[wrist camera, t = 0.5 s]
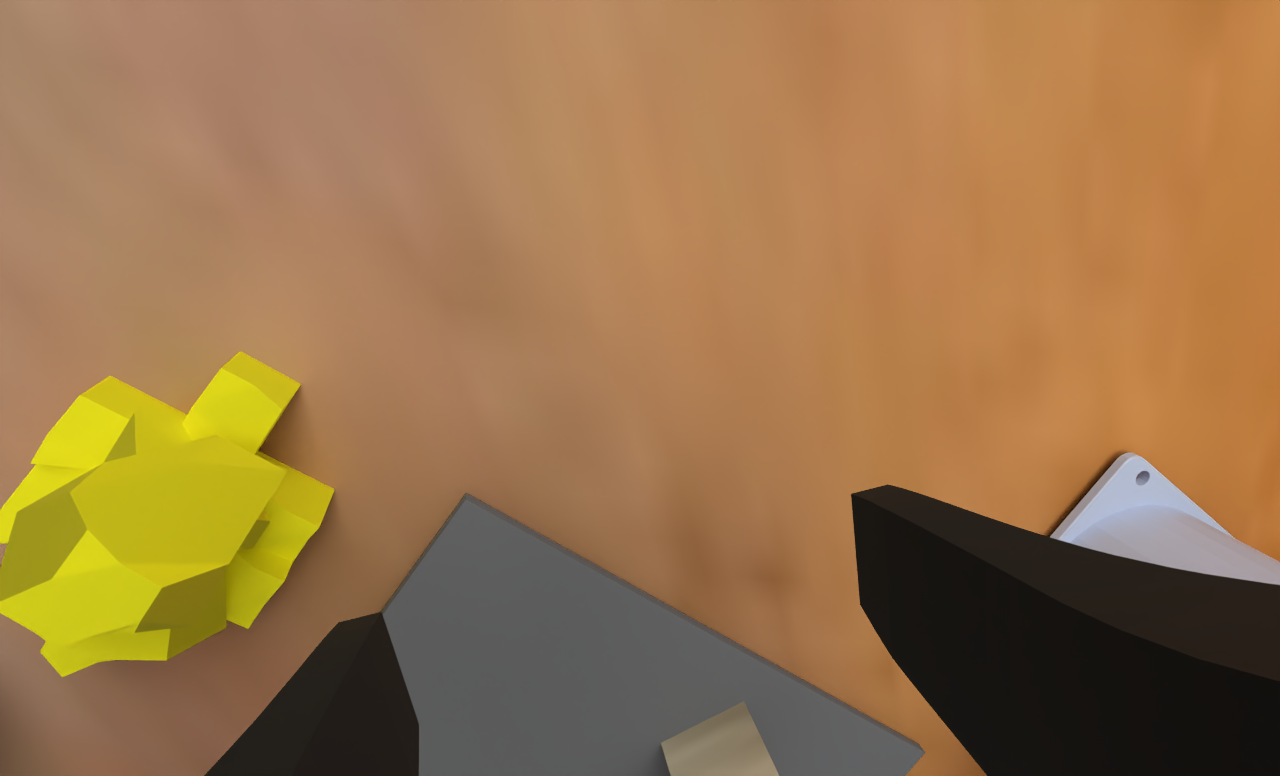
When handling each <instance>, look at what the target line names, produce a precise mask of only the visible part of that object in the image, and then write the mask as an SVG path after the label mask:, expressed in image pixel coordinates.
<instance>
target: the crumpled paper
mask: <svg viewBox="0 0 1280 776" xmlns="http://www.w3.org/2000/svg"><path fill="white" fill-rule="evenodd" d="M300 385H301V384H300V383H298V382H296V381H294V380H292V379H291V378H289V377H287V376H285V375H283V374H281V373H280V372H278V371H276V370H274V369H272V368H270V367H269V366H267V365H265V364H263V363H261V362H259V361H258V360H256V359H254V358H252V357H250V356H249V355H247V354H245V353H243V352H241V351H240V352H239V353H237V354H236V355H235V356H234V357H233V358H232V359H231V360H230V361H229V362H227V363H226V364H225V365H224V366H223V367H222V368H221V369H220V370H219V372H218V373H217V374H216V376H215V377H214V378H213V380H212V381H211V382H210V384H209V385H208V386H207V388H206V389H205V391H204V392H203V393H202V395H201V396H200V397H199V399H198V400H197V401H196V403H195V404H194V405H193V407H192V408H191V410H190V411H189V413H188V415H187V414H185V413H183V412H181V411H179V410H177V409H175V408H173V407H171V406H169V405H167V404H165V403H163V402H161V401H159V400H157V399H155V398H153V397H151V396H149V395H147V394H145V393H143V392H141V391H139V390H137V389H135V388H133V387H131V386H129V385H127V384H125V383H124V382H122V381H120V380H118V379H116V378H114V377H112V376H109V377H107V378H106V379H104V380H103V381H101V382H100V383H98V384H96V385H95V386H93V387H92V388H90V389H89V390H87V391H86V392H84V393H83V394H81V395H80V396H79V397H78V398H77V399H76V400H75V402H74V403H73V404H72V405H71V407H70V408H69V409H68V410H67V411H66V413H65V414H64V415H63V416H62V417H61V419H60V420H59V421H58V422H57V423H56V425H55V426H54V427H53V428H52V429H51V431H50V432H49V433H48V434H47V436H46V438H45V439H44V441H43V443H42V444H41V446H40V448H39V450H38V451H37V453H36V455H35V456H34V458H33V460H32V461H31V464H36V465H35V466H34V468H33V469H32V470H31V471H30V473H29V474H28V475H27V476H26V478H25V479H24V480H23V482H22V483H21V484H20V485H19V487H18V488H17V489H16V490H15V492H14V493H13V494H12V496H11V497H10V498H9V499H8V501H7V502H6V503H5V504H4V506H3V507H2V508H1V510H0V543H8V544H7V547H6V551H5V554H4V557H3V561H2V564H1V568H0V613H1V614H3V615H5V616H7V617H8V618H10V619H12V620H14V621H15V622H17V623H19V624H21V625H22V626H24V627H26V628H28V629H30V630H31V631H33V632H34V633H36V634H37V635H39V636H40V637H41V638H43V639H44V640H45V641H46V642H45V644H44V646H43V647H42V649H41V651H40V653H41V654H42V655H43V656H44V657H45V658H46V659H47V660H48V662H49V663H50V664H51V665H52V666H53V667H54V668H55V669H56V671H57V672H58V673H59V674H60V675H61V676H62V677H64V676H66V675H69V674H71V673H74V672H76V671H78V670H81V669H83V668H85V667H88V666H90V665H92V664H95V663H97V662H103V661H111V660H168V659H170V658H172V657H174V656H176V655H177V654H179V653H181V652H183V651H185V650H186V649H188V648H190V647H192V646H194V645H196V644H197V643H199V642H201V641H203V640H205V639H207V638H208V637H210V636H212V635H214V634H216V633H217V632H219V631H221V630H223V629H225V628H227V621H226V620H228V621H231V622H233V623H235V624H238V625H240V626H242V627H245V628H247V629H248V628H249V627H250V625H251V624H252V622H253V621H254V619H255V618H256V616H257V615H258V613H259V612H260V610H261V609H262V607H263V606H264V605H265V603H266V602H267V601H268V600H269V599H270V598H271V596H272V595H273V594H274V593H275V592H276V591H277V589H278V588H279V587H280V586H281V585H282V584H283V582H284V581H285V579H286V577H287V574H288V572H289V570H290V567H291V565H292V563H293V561H294V560H295V558H296V557H297V555H298V554H299V552H300V551H301V549H302V548H303V546H304V545H305V543H306V542H307V540H308V539H309V538H310V537H311V536H312V535H313V534H314V533H315V531H316V530H317V529H318V528H319V527H320V525H321V522H322V520H323V517H324V515H325V512H326V510H327V507H328V505H329V503H330V500H331V498H332V495H333V493H334V490H335V489H333V488H331V487H329V486H327V485H325V484H323V483H321V482H319V481H317V480H315V479H313V478H311V477H309V476H307V475H305V474H303V473H301V472H299V471H297V470H295V469H293V468H291V467H289V466H287V465H285V464H283V463H281V462H279V461H277V460H275V459H273V458H271V457H269V456H268V455H266V454H264V453H262V452H260V451H258V450H259V449H260V447H261V446H262V444H263V443H264V441H265V440H266V438H267V436H268V435H269V433H270V432H271V430H272V429H273V427H274V426H275V424H276V423H277V421H278V419H279V418H280V416H281V415H282V413H283V412H284V410H285V409H286V407H287V405H288V404H289V402H290V401H291V399H292V398H293V396H294V395H295V393H296V392H297V390H298V388H299V387H300Z"/></svg>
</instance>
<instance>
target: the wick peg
mask: <svg viewBox="0 0 1280 776" xmlns="http://www.w3.org/2000/svg"><path fill="white" fill-rule="evenodd" d="M661 745H662V748H663V752H664V755H665V758H666V762H667V765H668V768H669V772H670V775H671V776H779V774H778V772H777V770H776V768H775V765H774V763H773V761H772V759H771V757H770V755H769V753H768V751H767V749H766V746H765V744H764V742H763V740H762V738H761V736H760V734H759V732H758V730H757V728H756V725H755V723H754V721H753V719H752V717H751V715H750V713H749V711H748V709H747V706H746V704H745V702H744V701H743V702H741V703H739V704H737V705H735V706H733V707H731V708H729V709H727V710H725V711H723V712H721V713H719V714H717V715H715V716H713V717H711V718H709V719H707V720H705V721H703V722H701V723H699V724H697V725H695V726H693V727H691V728H689V729H688V730H686V731H684V732H682V733H680V734H678V735H676V736H674V737H672V738H670V739H668V740H666V741H664V742H662V743H661Z"/></svg>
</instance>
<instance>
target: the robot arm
mask: <svg viewBox="0 0 1280 776" xmlns="http://www.w3.org/2000/svg"><path fill="white" fill-rule="evenodd" d="M1139 473H1140V474H1139ZM1138 474H1139V476H1138V477H1137V475H1138ZM1136 477H1137V478H1136ZM851 497H852V510H853V522H854V534H855V547H856V559H857V571H858V583H859V596H860V605H861V607H862V608H863V610H864V612H865V614H866V615H867V617H868V619H869V620H870V622H871V624H872V625H873V627H874V629H875V631H876V632H877V634H878V636H879V637H880V639H881V640H882V642H883V644H884V645H885V647H886V648H887V650H888V652H889V653H890V655H891V656H892V658H893V659H894V660H895V662H896V663H897V664H898V666H899V667H900V668H901V669H902V671H903V672H904V673H905V675H906V676H907V677H908V678H909V680H910V681H911V682H912V683H913V685H914V686H915V687H916V688H917V690H918V691H919V692H920V693H921V695H922V696H923V697H924V698H925V700H926V701H927V702H928V703H929V704H930V706H931V707H932V708H933V709H934V711H935V712H936V713H937V714H938V716H939V717H940V718H941V719H942V720H943V722H944V723H945V724H946V725H947V727H948V728H949V729H950V730H951V731H952V733H953V734H954V735H955V736H956V738H957V739H958V740H959V741H960V743H961V744H962V745H963V746H964V747H965V749H966V750H967V751H968V752H969V754H970V755H971V756H972V757H973V759H974V760H975V761H976V762H977V763H978V765H979V766H980V767H981V768H982V770H983V771H984V772H985V773H986V774H987V776H1280V562H1279V561H1277V560H1275V559H1273V558H1271V557H1269V556H1267V555H1265V554H1264V553H1262V552H1260V551H1258V550H1256V549H1254V548H1252V547H1250V546H1248V545H1246V544H1245V543H1243V542H1241V541H1239V540H1237V539H1235V538H1234V537H1233V536H1232V535H1230V534H1229V533H1228V532H1227V531H1226V530H1225V529H1224V528H1222V527H1221V526H1220V525H1219V524H1218V523H1217V522H1216V521H1214V520H1213V519H1212V518H1211V517H1210V516H1209V515H1208V514H1207V513H1205V512H1204V511H1203V510H1202V509H1201V508H1200V507H1199V506H1197V505H1196V504H1195V503H1194V502H1193V501H1192V500H1191V499H1189V498H1188V497H1187V496H1186V495H1185V494H1184V493H1183V492H1181V491H1180V490H1179V489H1178V488H1177V487H1176V486H1175V485H1174V484H1172V483H1171V482H1170V481H1169V480H1168V479H1167V478H1166V477H1164V476H1163V475H1162V474H1161V473H1160V472H1159V471H1158V470H1156V469H1155V468H1154V467H1153V466H1152V465H1151V464H1150V463H1148V462H1147V461H1146V460H1145V459H1144V458H1142V457H1140V456H1138V455H1136V454H1134V453H1125V454H1123V455H1121V456H1120V457H1118V458H1117V459H1116V460H1115V462H1114V463H1113V464H1112V465H1111V466H1110V467H1109V469H1108V470H1107V471H1106V472H1105V473H1104V474H1103V476H1102V477H1101V478H1100V479H1099V480H1098V481H1097V483H1096V484H1095V485H1094V486H1093V487H1092V488H1091V490H1090V491H1089V492H1088V493H1087V494H1086V495H1085V497H1084V498H1083V499H1082V500H1081V501H1080V502H1079V503H1078V505H1077V506H1076V507H1075V508H1074V509H1073V510H1072V512H1071V513H1070V514H1069V515H1068V516H1067V517H1066V519H1065V520H1064V521H1063V522H1062V523H1061V524H1060V526H1059V527H1058V528H1057V529H1056V530H1055V531H1054V533H1053V534H1052V535H1051V536H1050V537H1047V536H1044V535H1040V534H1037V533H1034V532H1031V531H1028V530H1024V529H1021V528H1018V527H1015V526H1012V525H1009V524H1006V523H1003V522H1000V521H997V520H994V519H991V518H988V517H985V516H982V515H980V514H977V513H974V512H971V511H968V510H965V509H962V508H959V507H957V506H954V505H951V504H948V503H945V502H942V501H939V500H937V499H934V498H931V497H928V496H925V495H922V494H919V493H916V492H913V491H910V490H906V489H903V488H899V487H895V486H891V485H885V486H881V487H877V488H873V489H869V490H865V491H861V492H857V493H853V494H851ZM205 776H419V722H418V719H417V716H416V713H415V710H414V707H413V704H412V701H411V698H410V695H409V692H408V689H407V686H406V683H405V680H404V677H403V674H402V671H401V668H400V665H399V662H398V659H397V656H396V653H395V650H394V647H393V644H392V641H391V638H390V635H389V632H388V629H387V626H386V623H385V620H384V617H383V614H382V612H379V613H375V614H371V615H367V616H363V617H359V618H355V619H351V620H347V621H343V622H339V623H338V624H337V625H336V626H335V627H334V628H333V629H332V630H331V631H330V632H329V633H328V635H327V636H326V637H325V638H324V639H323V640H322V642H321V643H320V644H319V645H318V646H317V647H316V649H315V650H314V651H313V652H312V653H311V655H310V656H309V657H308V658H307V660H306V661H305V662H304V663H303V664H302V666H301V667H300V668H299V669H298V670H297V672H296V673H295V674H294V675H293V676H292V678H291V679H290V680H289V681H288V682H287V684H286V685H285V686H284V687H283V688H282V689H281V691H280V692H279V693H278V694H277V695H276V697H275V698H274V699H273V700H272V701H271V702H270V704H269V705H268V706H267V707H266V708H265V710H264V711H263V712H262V713H261V714H260V715H259V717H258V718H257V719H256V720H255V721H254V722H253V724H252V725H251V726H250V727H249V728H248V729H247V730H246V731H245V732H244V733H243V734H242V736H241V737H240V738H239V739H238V740H237V741H236V742H235V743H234V744H233V745H232V746H231V747H230V749H229V750H228V751H227V752H226V753H225V754H224V755H223V756H222V757H221V758H220V759H219V760H218V762H217V763H216V764H215V765H214V766H213V767H212V768H211V769H210V770H209V771H208V772H207V773H206V775H205Z"/></svg>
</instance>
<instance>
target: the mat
mask: <svg viewBox="0 0 1280 776" xmlns="http://www.w3.org/2000/svg"><path fill="white" fill-rule="evenodd" d="M381 612H382V614H383V617H384V620H385V623H386V626H387V629H388V632H389V635H390V638H391V641H392V644H393V647H394V650H395V653H396V656H397V659H398V662H399V665H400V668H401V671H402V674H403V677H404V680H405V683H406V686H407V689H408V692H409V695H410V698H411V701H412V704H413V707H414V710H415V713H416V716H417V719H418V722H419V776H671V775H670V772H669V768H668V765H667V762H666V758H665V755H664V752H663V748H662V745H661V743H662V742H664V741H666V740H668V739H670V738H672V737H674V736H676V735H678V734H680V733H682V732H684V731H686V730H688V729H689V728H691V727H693V726H695V725H697V724H699V723H701V722H703V721H705V720H707V719H709V718H711V717H713V716H715V715H717V714H719V713H721V712H723V711H725V710H727V709H729V708H731V707H733V706H735V705H737V704H739V703H741V702H743V701H744V702H745V704H746V706H747V709H748V711H749V713H750V715H751V717H752V719H753V721H754V723H755V725H756V728H757V730H758V732H759V734H760V736H761V738H762V740H763V742H764V744H765V746H766V749H767V751H768V753H769V755H770V757H771V759H772V761H773V763H774V765H775V768H776V770H777V772H778V774H779V776H905V775H906V774H907V773H908V772H909V771H910V769H911V768H912V767H913V766H914V765H915V764H916V763H917V761H918V760H919V759H920V758H921V757H922V756H923V755H924V753H925V752H924V750H923V749H922V748H921V746H920V745H919V744H918V743H916V742H914V741H912V740H910V739H909V738H907V737H905V736H903V735H901V734H900V733H898V732H896V731H894V730H892V729H891V728H889V727H887V726H885V725H883V724H882V723H880V722H878V721H876V720H874V719H873V718H871V717H869V716H867V715H865V714H864V713H862V712H860V711H858V710H856V709H855V708H853V707H851V706H849V705H847V704H846V703H844V702H842V701H840V700H838V699H837V698H835V697H833V696H831V695H829V694H828V693H826V692H824V691H822V690H820V689H819V688H817V687H815V686H813V685H811V684H810V683H808V682H806V681H804V680H802V679H800V678H799V677H797V676H795V675H793V674H791V673H790V672H788V671H786V670H784V669H782V668H781V667H779V666H777V665H775V664H773V663H772V662H770V661H768V660H766V659H764V658H763V657H761V656H759V655H757V654H755V653H754V652H752V651H750V650H748V649H746V648H745V647H743V646H741V645H739V644H737V643H736V642H734V641H732V640H730V639H728V638H727V637H725V636H723V635H721V634H719V633H718V632H716V631H714V630H712V629H710V628H709V627H707V626H705V625H703V624H701V623H700V622H698V621H696V620H694V619H692V618H691V617H689V616H687V615H685V614H683V613H682V612H680V611H678V610H676V609H674V608H673V607H671V606H669V605H667V604H665V603H664V602H662V601H660V600H658V599H656V598H655V597H653V596H651V595H649V594H647V593H646V592H644V591H642V590H640V589H638V588H636V587H635V586H633V585H631V584H629V583H627V582H626V581H624V580H622V579H620V578H618V577H617V576H615V575H613V574H611V573H609V572H608V571H606V570H604V569H602V568H600V567H599V566H597V565H595V564H593V563H591V562H590V561H588V560H586V559H584V558H582V557H581V556H579V555H577V554H575V553H573V552H572V551H570V550H568V549H566V548H564V547H563V546H561V545H559V544H557V543H555V542H554V541H552V540H550V539H548V538H546V537H545V536H543V535H541V534H539V533H537V532H536V531H534V530H532V529H530V528H528V527H527V526H525V525H523V524H521V523H519V522H518V521H516V520H514V519H512V518H510V517H509V516H507V515H505V514H503V513H501V512H500V511H498V510H496V509H494V508H492V507H491V506H489V505H487V504H485V503H483V502H481V501H480V500H478V499H476V498H474V497H472V496H471V495H469V494H467V493H466V494H465V495H464V497H463V498H462V499H461V501H460V502H459V504H458V505H457V506H456V508H455V509H454V511H453V512H452V513H451V515H450V516H449V518H448V519H447V520H446V522H445V523H444V524H443V526H442V527H441V529H440V530H439V531H438V533H437V534H436V536H435V537H434V538H433V540H432V541H431V543H430V544H429V545H428V547H427V548H426V550H425V551H424V552H423V554H422V555H421V556H420V558H419V559H418V561H417V562H416V563H415V565H414V566H413V568H412V569H411V570H410V572H409V573H408V575H407V576H406V577H405V579H404V580H403V582H402V583H401V584H400V586H399V587H398V588H397V590H396V591H395V593H394V594H393V595H392V597H391V598H390V600H389V601H388V602H387V604H386V605H385V607H384V608H383V609H382V611H381Z"/></svg>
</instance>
